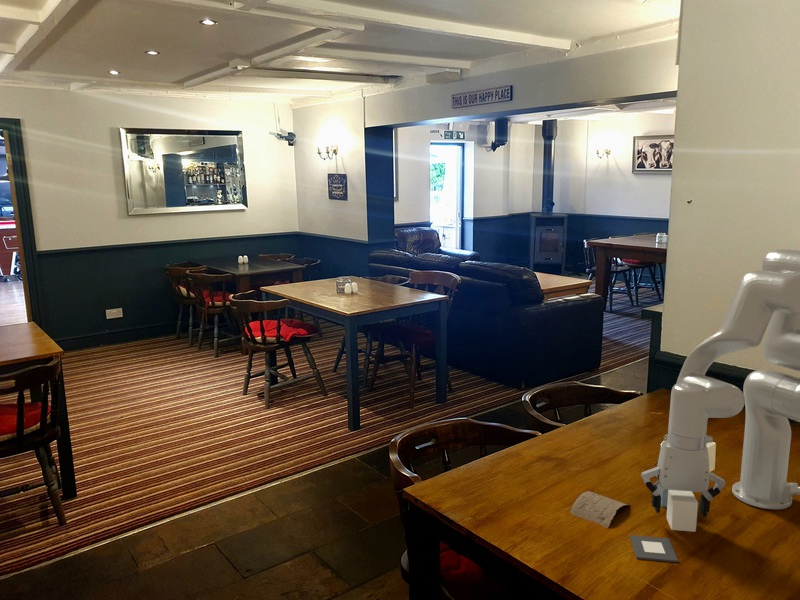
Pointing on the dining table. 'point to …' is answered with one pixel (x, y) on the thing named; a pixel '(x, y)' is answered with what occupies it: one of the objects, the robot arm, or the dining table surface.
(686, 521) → the cream block
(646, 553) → the card
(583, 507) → the clay tablet
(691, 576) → the dining table surface
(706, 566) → the dining table surface
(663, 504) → the slate-blue block
